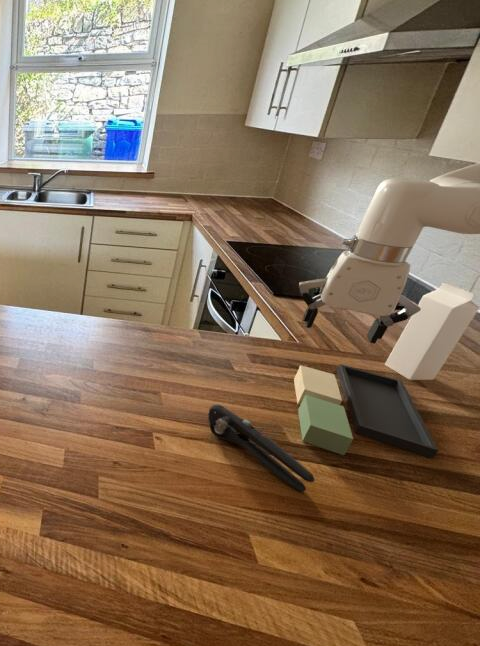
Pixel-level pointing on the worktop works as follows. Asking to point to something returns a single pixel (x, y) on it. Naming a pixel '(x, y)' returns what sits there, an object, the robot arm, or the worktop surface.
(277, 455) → the can opener
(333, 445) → the pad
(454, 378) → the worktop surface
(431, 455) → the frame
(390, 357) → the milk
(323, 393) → the pad
